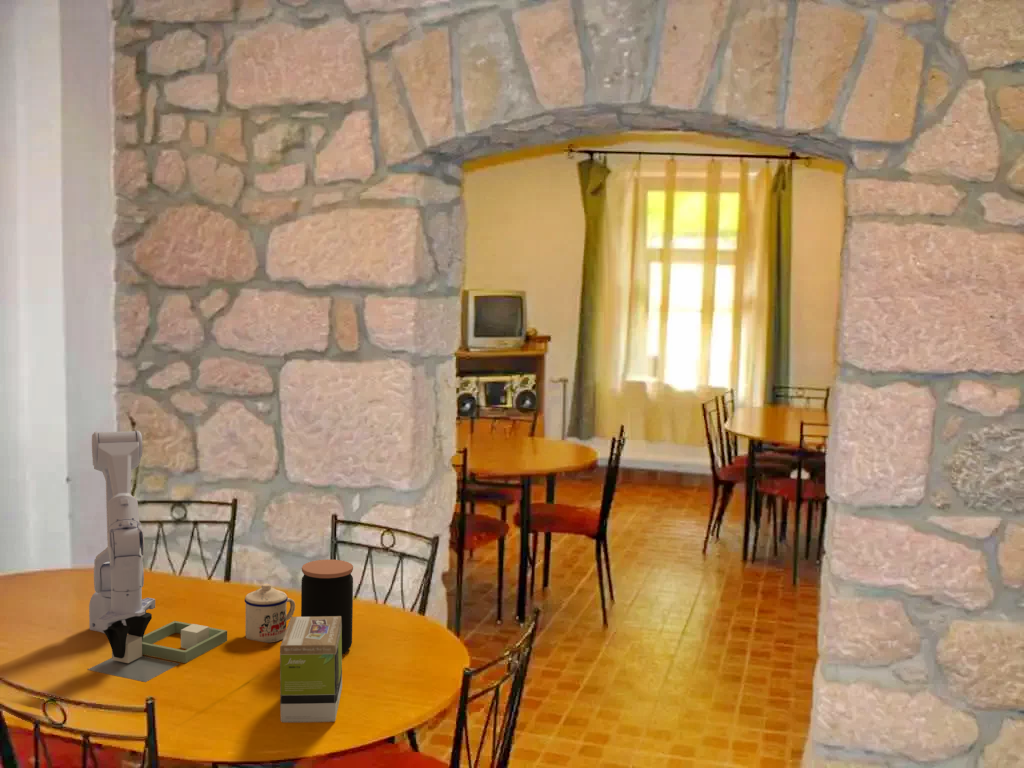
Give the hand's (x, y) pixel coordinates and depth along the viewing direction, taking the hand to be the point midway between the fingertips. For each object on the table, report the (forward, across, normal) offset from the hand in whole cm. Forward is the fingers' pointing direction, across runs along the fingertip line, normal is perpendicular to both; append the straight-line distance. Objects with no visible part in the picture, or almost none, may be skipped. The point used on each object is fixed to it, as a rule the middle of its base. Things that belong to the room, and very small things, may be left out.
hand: (127, 653), depth 205 cm
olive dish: (+2, +10, -5) cm, 12 cm away
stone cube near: (+1, 0, 0) cm, 1 cm away
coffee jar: (+2, +24, -32) cm, 40 cm away
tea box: (+2, -1, -44) cm, 44 cm away
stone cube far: (+2, +12, -7) cm, 14 cm away
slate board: (+2, -2, -4) cm, 5 cm away
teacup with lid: (+2, +26, -17) cm, 31 cm away
